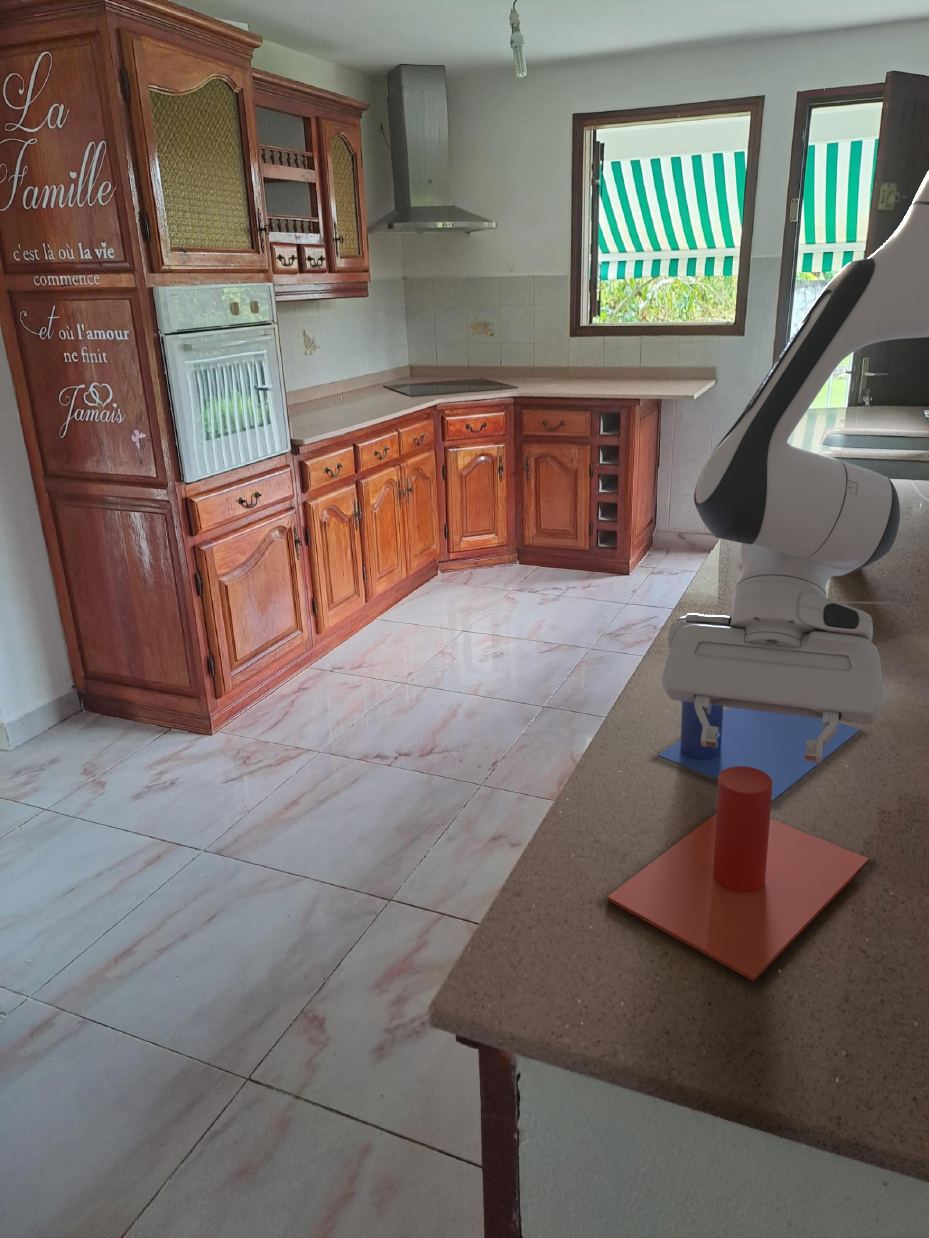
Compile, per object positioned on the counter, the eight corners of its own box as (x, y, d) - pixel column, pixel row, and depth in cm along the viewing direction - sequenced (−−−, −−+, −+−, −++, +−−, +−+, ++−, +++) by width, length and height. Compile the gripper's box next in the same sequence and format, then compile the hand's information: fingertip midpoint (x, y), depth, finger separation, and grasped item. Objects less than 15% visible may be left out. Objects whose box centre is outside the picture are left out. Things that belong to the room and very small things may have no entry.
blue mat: (860, 732, 101) (860, 729, 101) (772, 803, 89) (773, 800, 89) (750, 697, 111) (750, 694, 111) (657, 757, 99) (657, 754, 99)
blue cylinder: (728, 749, 99) (732, 668, 95) (706, 764, 96) (710, 681, 93) (694, 736, 102) (697, 657, 98) (672, 751, 99) (675, 670, 96)
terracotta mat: (868, 862, 79) (869, 858, 79) (753, 981, 67) (753, 977, 67) (730, 805, 89) (730, 801, 89) (607, 900, 77) (607, 896, 77)
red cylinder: (774, 875, 78) (782, 777, 74) (748, 899, 75) (755, 799, 72) (730, 855, 81) (735, 760, 77) (703, 877, 78) (708, 780, 75)
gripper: (668, 598, 90) (645, 727, 85) (890, 616, 82) (879, 760, 77) (675, 624, 95) (654, 746, 90) (884, 643, 87) (873, 778, 82)
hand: (759, 753), depth 83 cm, fingers open, 8 cm apart
